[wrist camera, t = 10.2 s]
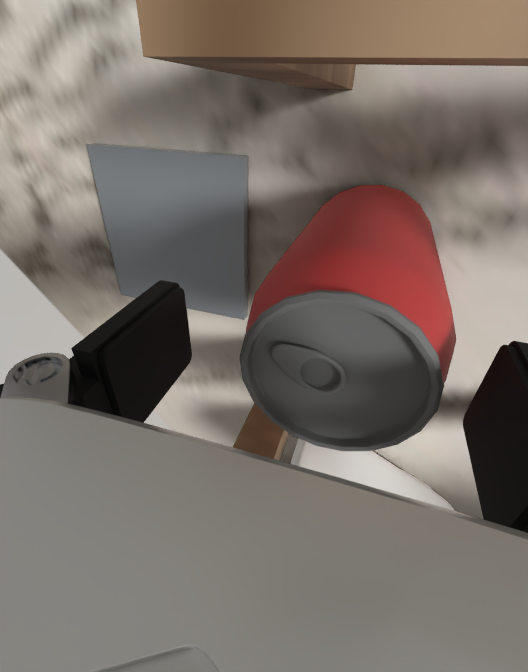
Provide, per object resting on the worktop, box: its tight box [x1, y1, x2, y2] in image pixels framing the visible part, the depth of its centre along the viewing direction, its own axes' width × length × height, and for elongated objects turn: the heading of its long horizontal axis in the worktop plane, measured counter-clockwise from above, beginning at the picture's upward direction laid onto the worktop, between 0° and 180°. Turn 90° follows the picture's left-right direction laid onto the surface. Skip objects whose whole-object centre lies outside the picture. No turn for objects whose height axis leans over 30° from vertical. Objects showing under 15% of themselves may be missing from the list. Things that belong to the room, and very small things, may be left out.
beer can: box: [240, 185, 456, 451], centre depth 14 cm, size 7×7×12 cm
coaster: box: [87, 143, 248, 320], centre depth 22 cm, size 10×10×1 cm
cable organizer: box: [290, 438, 455, 511], centre depth 26 cm, size 15×11×12 cm
